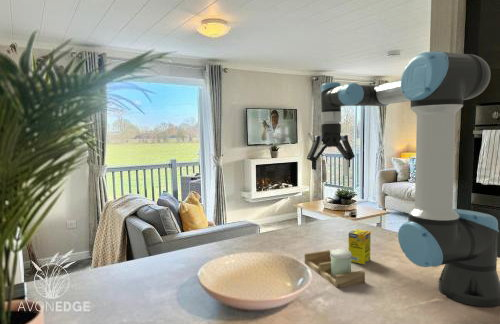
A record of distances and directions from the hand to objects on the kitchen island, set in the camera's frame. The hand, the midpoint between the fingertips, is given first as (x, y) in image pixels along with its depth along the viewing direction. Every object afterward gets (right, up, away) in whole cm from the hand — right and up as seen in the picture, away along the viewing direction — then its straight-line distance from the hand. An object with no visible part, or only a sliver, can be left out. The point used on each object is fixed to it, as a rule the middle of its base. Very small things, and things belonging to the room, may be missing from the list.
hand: (331, 176), depth 133 cm
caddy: (-6, -30, -25) cm, 40 cm away
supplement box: (+6, -29, -16) cm, 34 cm away
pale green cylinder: (-4, -30, -30) cm, 42 cm away
